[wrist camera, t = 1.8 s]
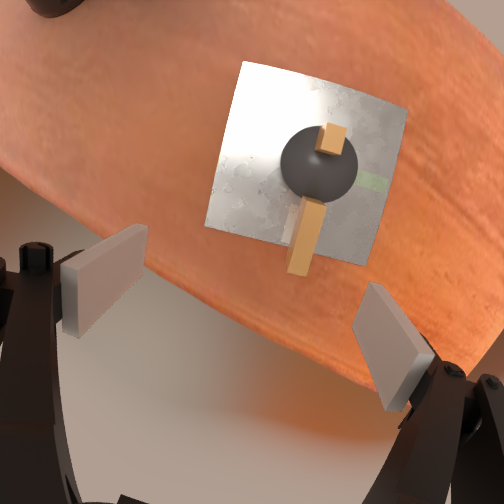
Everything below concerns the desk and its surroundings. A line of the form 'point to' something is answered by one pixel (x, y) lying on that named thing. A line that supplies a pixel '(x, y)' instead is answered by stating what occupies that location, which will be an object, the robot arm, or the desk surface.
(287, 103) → the post plate
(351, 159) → the cap
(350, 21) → the desk surface
